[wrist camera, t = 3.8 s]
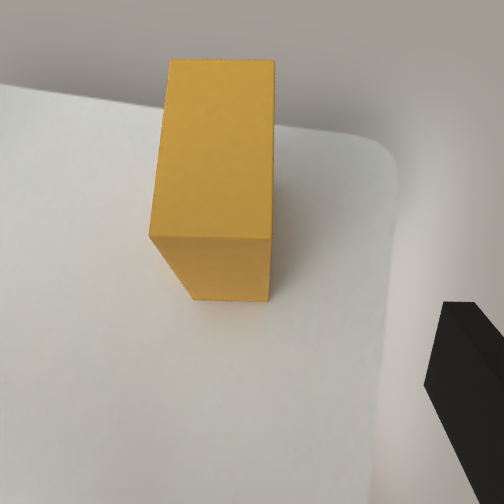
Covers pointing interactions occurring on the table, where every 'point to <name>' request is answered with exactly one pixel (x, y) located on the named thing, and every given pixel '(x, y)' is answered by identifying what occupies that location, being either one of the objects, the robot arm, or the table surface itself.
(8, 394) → the table surface
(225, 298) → the block
